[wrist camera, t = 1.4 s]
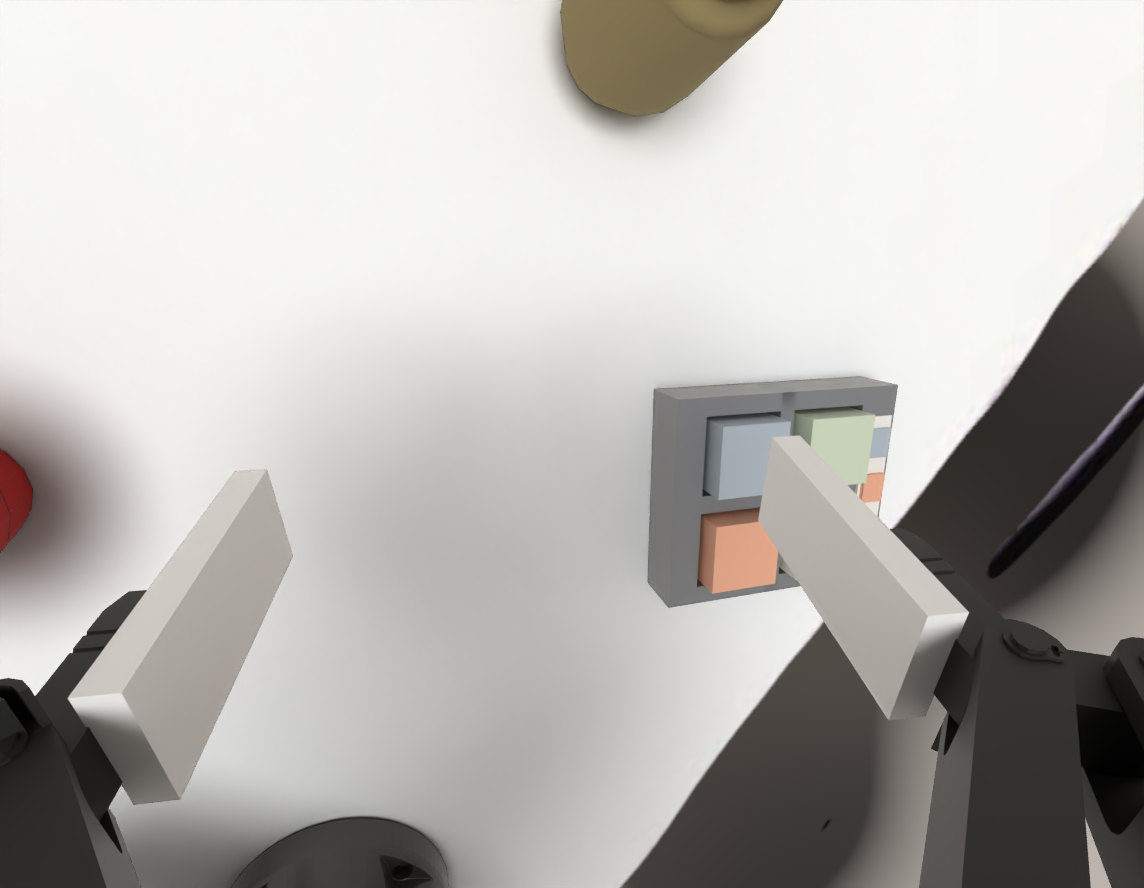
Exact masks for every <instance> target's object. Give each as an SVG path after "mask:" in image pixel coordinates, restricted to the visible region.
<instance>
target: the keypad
mask: <svg viewBox="0 0 1144 888" xmlns="http://www.w3.org/2000/svg"><path fill="white" fill-rule="evenodd" d="M897 388H898V385H896V384H891V383H887V382H882V381H878V380H873V379H869V378H864V377H845V378H828V379H812V380H795V381H779V382H762V383H746V384H729V385H713V386H696V387H680V388H663V389H654V408H653V438H652V469H651V499H650V529H649V560H648V583H649V584H650V586H651V587H652V588H653V589H654V591H655V592H656V593H657V594H658V596H659V597H660V598H661V599H662V600H663V602H664V603H665V604H666V605H667V607H668V608H670V607H676V606H682V605H688V604H694V603H700V602H706V601H712V600H718V599H724V598H730V597H737V596H743V595H749V594H755V593H761V592H767V591H773V590H779V589H785V588H791V587H797V586H801V585H800V584H799V582H798V581H797V580H795V579H794V578H793V577H791V576H790V575H789V574H787V573H786V572H785V571H783V570H782V569H781V568H780V567H779V563H780V553H779V551H778V559H777V569H776V579H775V584H769V585H763V586H757V587H750V588H744V589H738V590H732V591H726V592H720V593H713V594H712V593H711V592H710V591H709V590H708V589H707V588H706V587H705V586H704V585H703V584H702V583H701V582H700V581H699V580H698V579H697V576H698V559H699V542H700V525H701V514H708V513H716V512H724V511H732V510H741V509H749V508H757V507H760V506H761V501H762V495H758V496H750V497H741V498H733V499H724V500H718V499H716V498H715V497H713V496H712V495H711V494H709V493H708V492H706V491H705V490H703V474H704V456H705V439H706V422H707V417H711V416H725V415H738V414H751V413H764V412H767V413H769V414H772V415H775V416H777V417H780V418H783V419H785V420H788V421H791V427H790V436H792V433H793V423H794V413H795V410H804V409H817V408H831V407H844V406H847V407H851V408H854V409H858V410H861V411H864V412H868V413H871V414H875V422H874V429H873V436H872V444H871V451H870V458H869V465H868V472H867V480H866V483H861V484H853V485H848V486H849V487H850V489H851V490H852V491H853V492H854V493H855V494H856V495H857V496H858V497H859V498H860V499H861V500H862V501H863V502H864V503H865V504H866V505H867V506H868V507H869V508H870V509H871V510H872V511H873V513H874V514H875V515H876V516H877V517H879V510H880V503H881V497H882V490H883V483H884V476H885V469H886V463H887V456H888V449H889V442H890V435H891V429H892V422H893V415H894V408H895V401H896V395H897Z"/></svg>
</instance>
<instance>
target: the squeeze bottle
mask: <svg viewBox="0 0 1144 888" xmlns="http://www.w3.org/2000/svg"><path fill="white" fill-rule="evenodd" d="M782 1H783V0H563V1H562V6H561V11H560V14H561V22H562V30H563V38H564V46H565V53H566V60H567V66H568V68H569V70H570V72H571V74H572V76H573V78H574V80H575V82H576V84H577V86H578V88H579V89H580V90H581V91H582V92H584V93H585V94H586V95H587V96H588V97H589V98H590V99H591V100H592V101H593V102H594V103H597V104H600V105H603V106H606V107H608V108H611V109H614V110H617V111H621V112H624V113H627V114H630V115H633V116H638V115H646V114H655V113H663V112H665V111H666V110H668V109H669V108H671V107H672V106H674V105H675V104H677V103H678V102H680V101H681V100H683V99H684V98H686V97H688V96H689V95H690V94H691V93H692V92H693V91H694V90H695V89H696V88H697V87H698V86H699V85H701V84H702V83H703V82H704V81H705V80H706V79H707V78H708V77H709V76H710V75H711V74H712V73H714V72H715V71H716V70H717V69H718V68H719V67H720V66H721V65H722V64H723V63H724V62H725V61H727V60H728V59H729V58H730V57H731V56H732V55H733V54H734V53H735V52H736V51H737V50H738V49H739V48H741V47H742V46H743V45H744V44H745V43H746V42H747V41H748V40H749V39H750V38H751V37H752V36H754V35H755V34H756V33H757V32H758V31H759V30H760V29H761V28H762V27H763V26H764V25H765V24H767V23H768V22H769V21H770V19H771V18H772V16H773V15H774V13H775V12H776V10H777V9H778V7H779V6H780V4H781V3H782Z"/></svg>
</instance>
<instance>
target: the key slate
mask: <svg viewBox="0 0 1144 888" xmlns="http://www.w3.org/2000/svg"><path fill="white" fill-rule="evenodd" d="M790 427H791V421H788V420H785V419H783V418H780V417H777V416H775V415H772V414H769V413H767V412H764V413H751V414H738V415H725V416H711V417H707V422H706V439H705V456H704V474H703V490H705V491H706V492H708V493H709V494H711V495H712V496H713V497H715V498H716V499H718V500H724V499H733V498H741V497H750V496H758V495H763V489H764V483H765V478H766V472H767V466H768V460H769V455H770V449H771V443H772V437H783V436H790Z"/></svg>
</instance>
